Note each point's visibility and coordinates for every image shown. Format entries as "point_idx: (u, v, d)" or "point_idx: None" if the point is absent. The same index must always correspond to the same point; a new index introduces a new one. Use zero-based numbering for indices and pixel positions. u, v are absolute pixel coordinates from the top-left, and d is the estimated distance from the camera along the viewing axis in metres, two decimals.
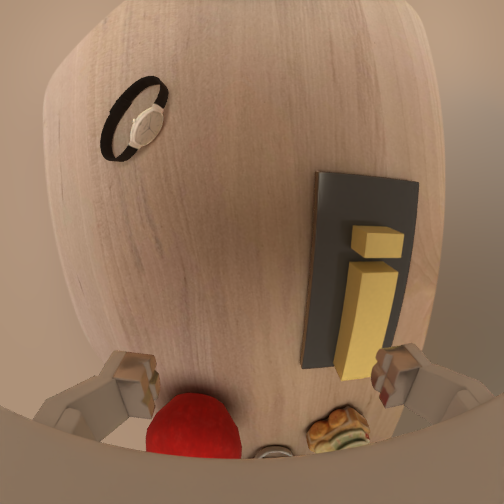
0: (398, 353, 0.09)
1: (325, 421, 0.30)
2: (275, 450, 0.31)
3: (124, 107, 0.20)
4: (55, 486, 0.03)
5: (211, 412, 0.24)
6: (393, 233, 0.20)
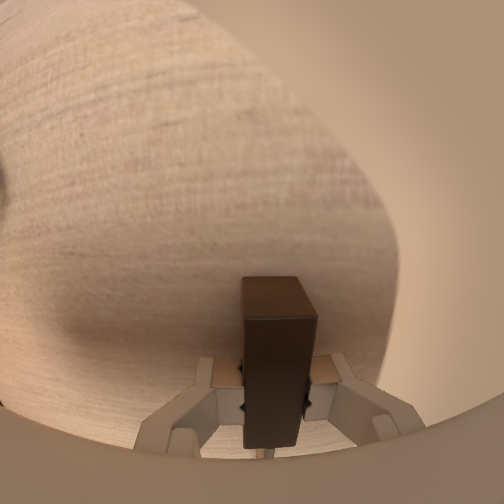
0: (318, 363, 0.08)
1: None
2: None
3: None
4: (55, 486, 0.03)
5: None
6: None
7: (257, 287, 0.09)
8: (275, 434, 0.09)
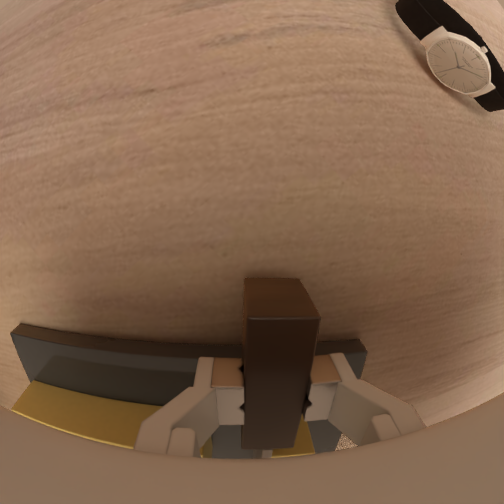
0: (318, 363, 0.08)
1: None
2: None
3: None
4: (55, 486, 0.03)
5: None
6: None
7: (260, 287, 0.09)
8: (273, 435, 0.09)
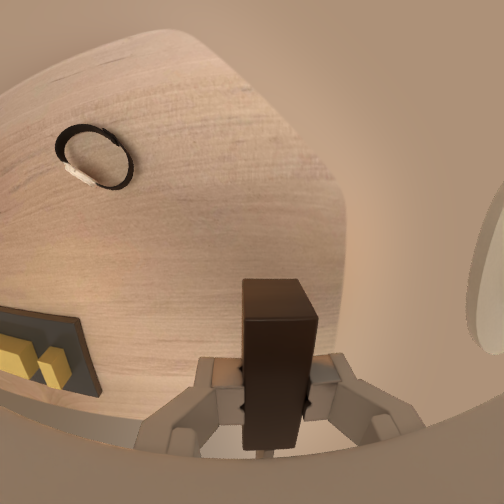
0: (318, 363, 0.08)
1: None
2: None
3: (112, 140, 0.19)
4: (55, 486, 0.03)
5: None
6: (58, 382, 0.22)
7: (258, 288, 0.09)
8: (274, 436, 0.09)
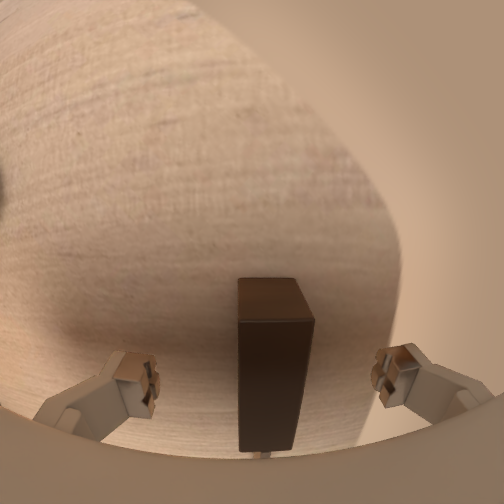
0: (398, 353, 0.09)
1: None
2: None
3: None
4: (55, 486, 0.03)
5: None
6: None
7: (253, 288, 0.09)
8: (271, 438, 0.08)
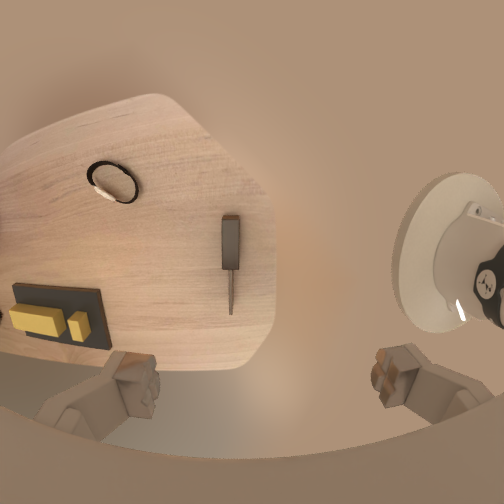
0: (398, 353, 0.09)
1: None
2: None
3: (124, 171, 0.32)
4: (55, 486, 0.03)
5: None
6: (81, 335, 0.35)
7: (226, 216, 0.34)
8: (231, 261, 0.33)
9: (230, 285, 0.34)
